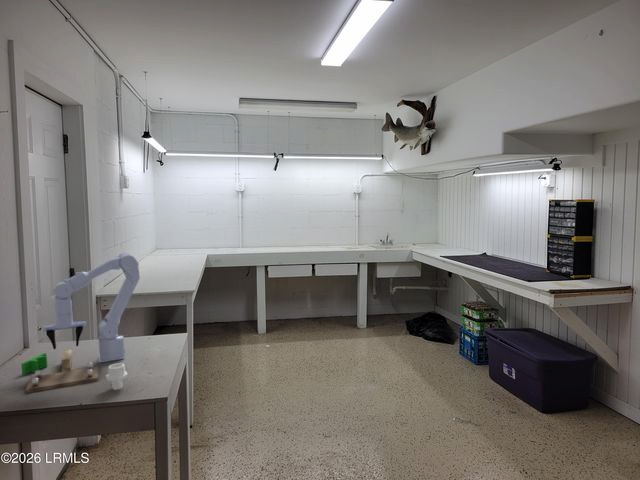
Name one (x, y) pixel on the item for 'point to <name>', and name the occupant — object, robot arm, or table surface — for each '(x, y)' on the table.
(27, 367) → the green block
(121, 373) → the pipe fitting
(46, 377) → the peg base
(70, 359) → the pine shelf board
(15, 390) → the table surface
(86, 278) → the robot arm
